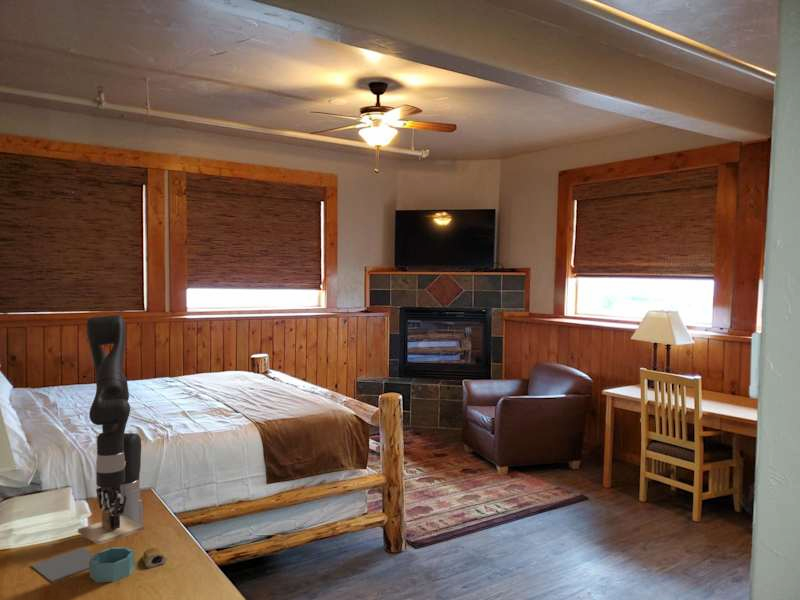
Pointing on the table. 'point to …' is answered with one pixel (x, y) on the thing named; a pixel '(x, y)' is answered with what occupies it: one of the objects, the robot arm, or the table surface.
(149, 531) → the table surface
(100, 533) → the lid
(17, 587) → the table surface
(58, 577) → the mat
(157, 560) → the pastry
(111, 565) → the bowl
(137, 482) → the robot arm
